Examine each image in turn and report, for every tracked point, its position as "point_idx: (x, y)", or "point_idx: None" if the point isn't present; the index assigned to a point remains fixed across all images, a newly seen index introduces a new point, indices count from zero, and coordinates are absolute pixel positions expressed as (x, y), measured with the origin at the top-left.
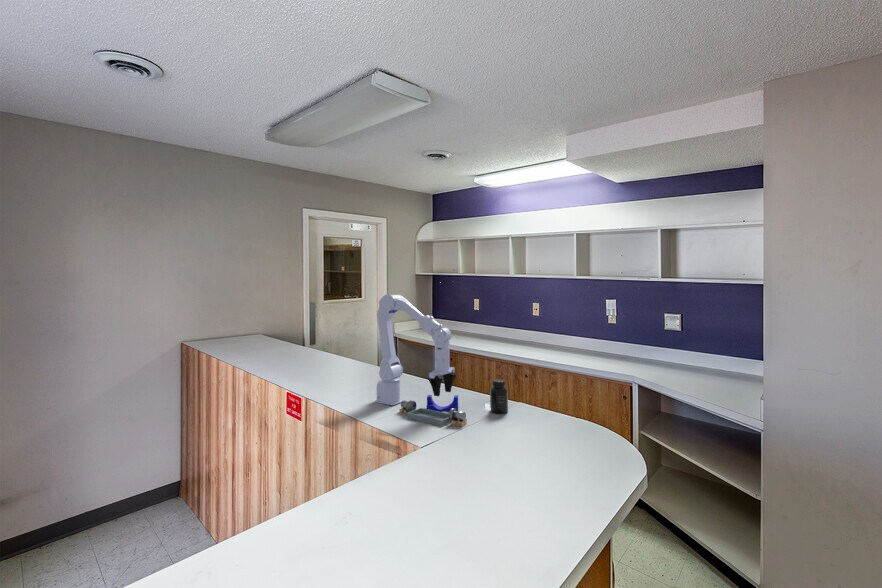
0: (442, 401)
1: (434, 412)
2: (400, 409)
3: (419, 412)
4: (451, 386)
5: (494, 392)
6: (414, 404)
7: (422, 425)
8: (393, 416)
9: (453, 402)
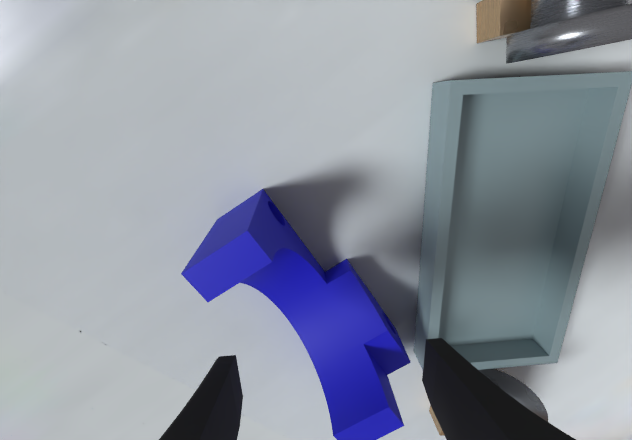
0: (136, 405)
1: (442, 264)
2: None
3: None
4: (198, 401)
5: None
6: None
7: (623, 195)
8: None
9: (277, 243)
